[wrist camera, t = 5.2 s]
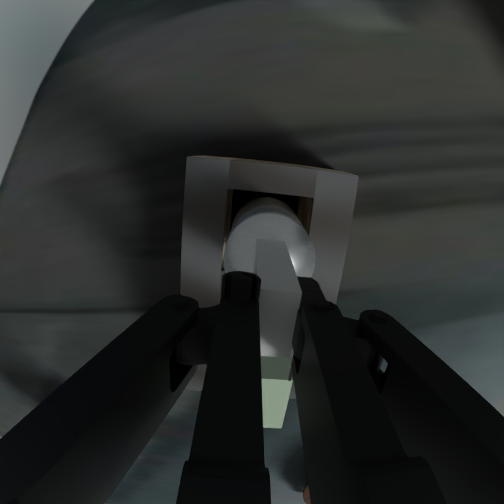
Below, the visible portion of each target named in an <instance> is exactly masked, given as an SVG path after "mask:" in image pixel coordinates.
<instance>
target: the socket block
mask: <svg viewBox="0 0 504 504" xmlns="http://www.w3.org/2000/svg"><path fill="white" fill-rule="evenodd" d="M358 177H359V176H357V175H354V174H350V173H346V172H342V171H338V170H333V169H327V168H320V167H313V166H305V165H298V164H290V163H281V162H272V161H263V160H253V159H243V158H232V157H219V156H205V155H201V156H189V157H187V161H186V174H185V189H184V205H183V225H182V249H181V288H180V295H183V296H188V297H191V298H194V299H195V300H197V301H198V303H199V308H207V307H212V306H216V305H218V304H219V303H220V299H221V286H222V276H223V275H224V274H225V269H224V263H223V260H224V251H225V247H226V244H227V241H228V237H229V233H230V221H231V209H232V198H233V189H237V190H248V191H258V192H267V193H277V194H286V195H294V196H299V204H298V212H297V218H298V219H299V221H300V222H301V224H302V226H303V227H304V229H305V231H306V232H307V234H308V235H309V237H310V239H311V241H312V243H313V246H314V249H315V257H316V261H315V268H314V272H313V274H312V277H311V278H313V279H314V280H316V281H317V282H318V283H319V285H320V288H321V290H322V293H323V294H324V296H325V298H326V300H327V301H330V302H332V303H334V304H336V301H337V296H338V291H339V287H340V282H341V277H342V272H343V267H344V262H345V257H346V251H347V246H348V241H349V235H350V229H351V223H352V217H353V211H354V205H355V198H356V191H357V184H358ZM292 358H293V348H292V350H291V355H290V364H291V363H292ZM206 368H207V364H201V365H198V368H197V371H196V373H195V374H194V376H193V377H192V379H191V380H190V382H189V383H188V385H187V386H186V387H185V389H189V390H197V391H202V388H203V383H204V378H205V373H206ZM292 378H293V377H292ZM289 398H291V399H296V394H295V387H294V381H293V382H292V386H291V391H290V395H289Z"/></svg>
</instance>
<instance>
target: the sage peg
mask: <svg viewBox="0 0 504 504" xmlns="http://www.w3.org/2000/svg"><path fill="white" fill-rule="evenodd" d="M290 368H291V364H290V358H286V357H270V356H261V376H262V406H263V427H264V428H282V424H283V420H284V416H285V412H286V407H287V403H288V399H289V395H290V391H291V386H292V382H293V378H291V381H288V377H289V372H290Z"/></svg>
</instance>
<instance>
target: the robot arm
mask: <svg viewBox="0 0 504 504" xmlns="http://www.w3.org/2000/svg"><path fill="white" fill-rule="evenodd" d="M292 348H293V358H292V363H291V368H290V372H289V377H288V381H291V378H292V377H293V381H294V387H295V394H296V401H297V408H298V414H299V421H300V428H301V435H302V442H303V449H304V457H305V464H306V471H307V479H308V486H309V494H310V502H311V504H504V417H503V416H502V415H501V414H500V413H499V412H498V411H497V410H496V409H495V408H494V407H493V406H492V405H491V404H490V403H489V402H488V401H486V400H485V399H484V398H483V397H482V396H481V395H480V394H479V393H478V392H477V391H476V390H475V389H473V388H472V387H471V386H470V385H469V384H468V383H467V382H466V381H465V380H464V379H462V378H461V377H460V376H459V375H458V374H457V373H456V372H455V371H454V370H452V369H451V368H450V367H449V366H448V365H447V364H446V363H445V362H443V361H442V360H441V359H440V358H439V357H438V356H437V355H436V354H434V353H433V352H432V351H431V350H430V349H429V348H428V347H426V346H425V345H424V344H423V343H422V342H421V341H420V340H418V339H417V338H416V337H415V336H414V335H413V334H412V333H410V332H409V331H408V330H407V329H406V328H405V327H403V326H402V325H401V324H400V323H399V322H398V321H396V320H395V319H394V318H393V317H391V316H390V315H388V314H386V313H384V312H383V311H380V310H366V311H363V312H362V313H361V314H360V318H359V320H355V319H350V318H346V317H343V316H342V314H341V312H340V310H339V308H338V307H337V305H336V304H334V303H332V302H330V301H327V300H326V298H325V296H324V294H323V293H322V290H321V288H320V285H319V283H318V282H317V281H316V280H314V279H313V278H311V277H299V276H296V273H295V270H294V266H293V263H292V260H291V257H290V254H289V251H288V249H287V246H286V243H285V241H284V240H274V239H264V238H256V246H255V256H254V265H253V273H250V272H244V271H232V272H227V273H225V274H224V275H223V276H222V286H221V299H220V303H219V304H218V305H216V306H212V307H207V308H199V303H198V301H197V300H195V299H194V298H191V297H188V296H183V295H172V296H168V297H165V298H164V299H162V300H160V301H159V302H158V303H157V304H156V305H154V306H153V307H152V308H151V309H150V310H148V311H147V312H146V313H145V314H144V315H143V316H141V317H140V318H139V319H138V320H137V321H135V322H134V323H133V324H132V325H131V326H129V327H128V328H127V329H126V330H125V331H124V332H122V333H121V334H120V335H119V336H118V337H116V338H115V339H114V340H113V341H112V342H111V343H109V344H108V345H107V346H106V347H105V348H104V349H102V350H101V351H100V352H99V353H98V354H97V355H95V356H94V357H93V358H92V359H91V360H90V361H88V362H87V363H86V364H85V365H84V366H83V367H81V368H80V369H79V370H78V371H77V372H76V373H74V374H73V375H72V376H71V377H70V378H69V379H68V380H66V381H65V382H64V383H63V384H62V385H61V386H59V387H58V388H57V389H56V390H55V391H54V392H53V393H51V394H50V395H49V396H48V397H47V398H46V399H45V400H44V401H42V402H41V403H40V404H39V405H38V406H37V407H36V408H34V409H33V410H32V411H31V412H30V413H29V414H28V415H27V416H25V417H24V418H23V419H22V420H21V421H20V422H19V423H18V424H17V425H15V426H14V427H13V428H12V429H11V430H10V431H9V432H8V433H6V434H5V435H4V436H3V437H2V438H1V439H0V504H105V503H106V501H107V500H108V498H109V497H110V496H111V494H112V493H113V491H114V490H115V489H116V487H117V486H118V484H119V483H120V482H121V480H122V479H123V477H124V476H125V475H126V473H127V472H128V470H129V469H130V467H131V466H132V465H133V463H134V462H135V460H136V459H137V457H138V456H139V455H140V453H141V452H142V450H143V449H144V447H145V446H146V444H147V443H148V442H149V440H150V439H151V437H152V436H153V434H154V433H155V431H156V430H157V429H158V427H159V426H160V424H161V423H162V421H163V420H164V418H165V417H166V415H167V414H168V412H169V411H170V410H171V408H172V407H173V405H174V404H175V402H176V401H177V399H178V398H179V396H180V395H181V393H182V392H183V390H184V389H185V387H186V386H187V385H188V383H189V382H190V380H191V379H192V377H193V376H194V374H195V373H196V371H197V368H198V365H201V364H207V368H206V373H205V378H204V383H203V388H202V393H201V398H200V403H199V409H198V414H197V419H196V424H195V430H194V435H193V440H192V446H191V451H190V456H189V460H188V461H185V463H184V466H183V471H182V475H181V480H180V486H179V491H178V496H177V502H176V504H271V492H270V475H269V470H268V468H265V464H264V437H263V406H262V376H261V356H270V357H286V358H290V355H291V350H292ZM383 359H385V360H386V361H387V363H388V366H387V368H386V371H385V372H382V371H381V369H380V367H381V364H382V361H383Z"/></svg>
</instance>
